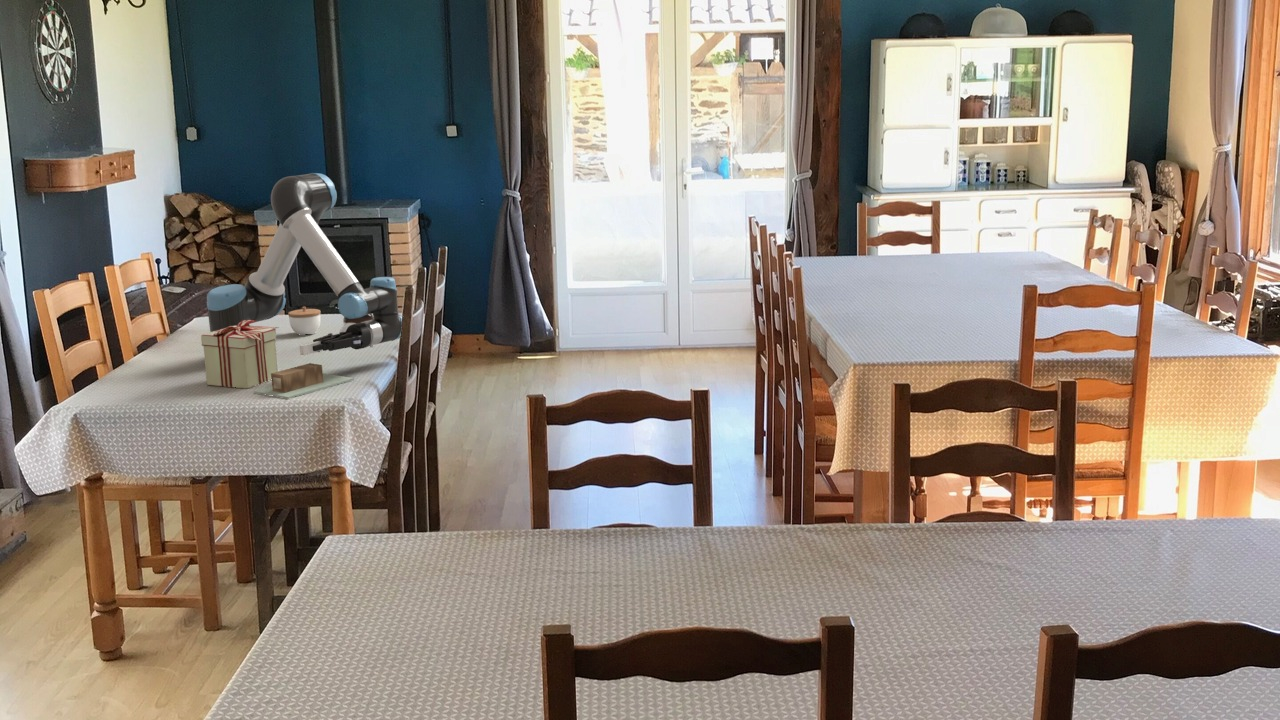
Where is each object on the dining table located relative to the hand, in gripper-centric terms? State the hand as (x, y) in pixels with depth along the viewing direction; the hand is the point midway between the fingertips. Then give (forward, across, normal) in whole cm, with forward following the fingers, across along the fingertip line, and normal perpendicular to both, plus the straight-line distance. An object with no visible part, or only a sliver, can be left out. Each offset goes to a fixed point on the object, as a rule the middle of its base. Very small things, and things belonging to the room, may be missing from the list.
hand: (301, 350), depth 344 cm
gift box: (+3, +20, -11) cm, 23 cm away
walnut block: (-5, 0, -7) cm, 9 cm away
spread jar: (-52, +33, -11) cm, 62 cm away
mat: (0, 0, -10) cm, 11 cm away
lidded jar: (-53, +59, -11) cm, 80 cm away
